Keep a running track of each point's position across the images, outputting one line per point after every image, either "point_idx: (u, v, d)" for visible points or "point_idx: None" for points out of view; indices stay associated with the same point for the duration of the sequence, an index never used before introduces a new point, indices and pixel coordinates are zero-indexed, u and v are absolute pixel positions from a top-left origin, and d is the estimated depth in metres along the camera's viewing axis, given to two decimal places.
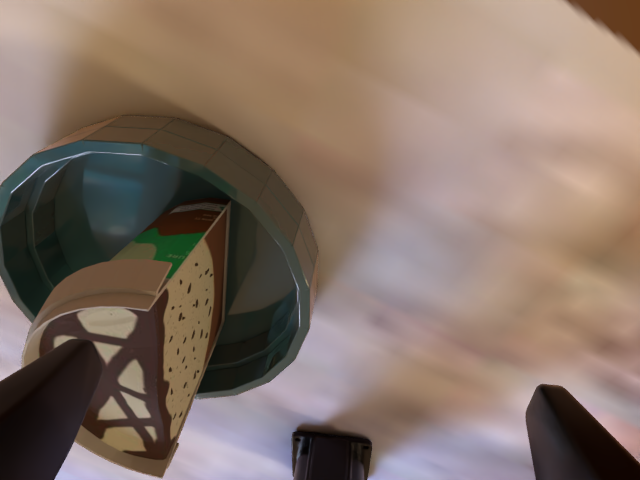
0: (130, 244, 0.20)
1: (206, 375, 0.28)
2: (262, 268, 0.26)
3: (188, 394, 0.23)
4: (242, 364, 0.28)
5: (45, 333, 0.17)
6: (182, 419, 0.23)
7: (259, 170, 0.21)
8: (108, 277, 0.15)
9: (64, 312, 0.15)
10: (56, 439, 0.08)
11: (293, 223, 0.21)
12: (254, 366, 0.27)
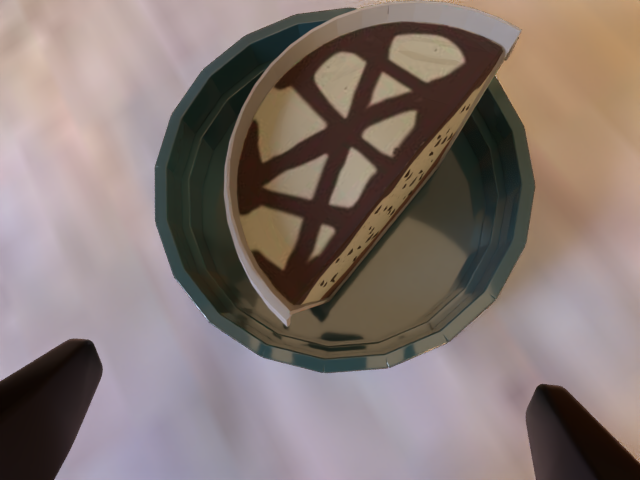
0: None
1: (278, 343, 0.19)
2: (422, 252, 0.22)
3: (327, 281, 0.16)
4: (334, 353, 0.20)
5: (337, 40, 0.14)
6: (307, 301, 0.15)
7: None
8: None
9: (421, 1, 0.14)
10: (56, 439, 0.08)
11: None
12: (360, 353, 0.19)
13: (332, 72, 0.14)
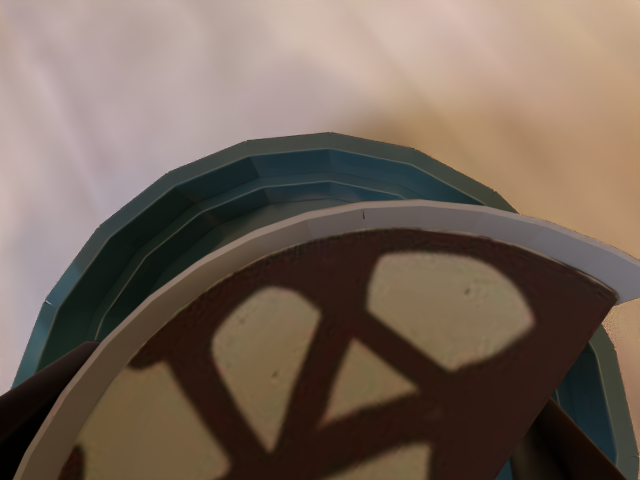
0: None
1: None
2: None
3: None
4: None
5: (263, 264, 0.07)
6: None
7: None
8: None
9: (433, 202, 0.06)
10: None
11: None
12: None
13: (250, 334, 0.07)
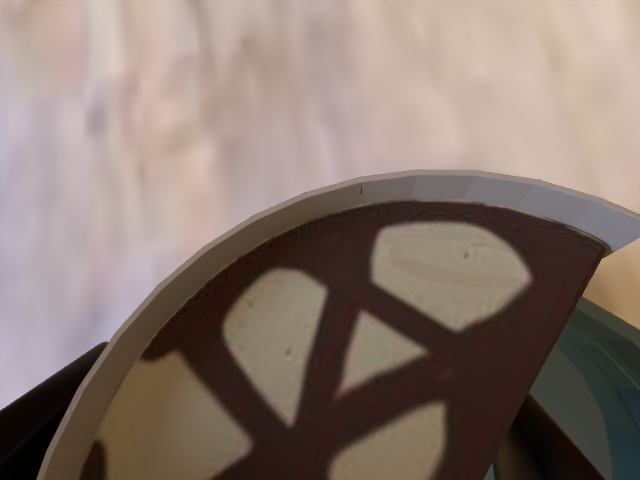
0: None
1: None
2: None
3: None
4: None
5: (266, 247, 0.07)
6: None
7: None
8: None
9: (427, 171, 0.07)
10: None
11: None
12: None
13: (260, 315, 0.07)
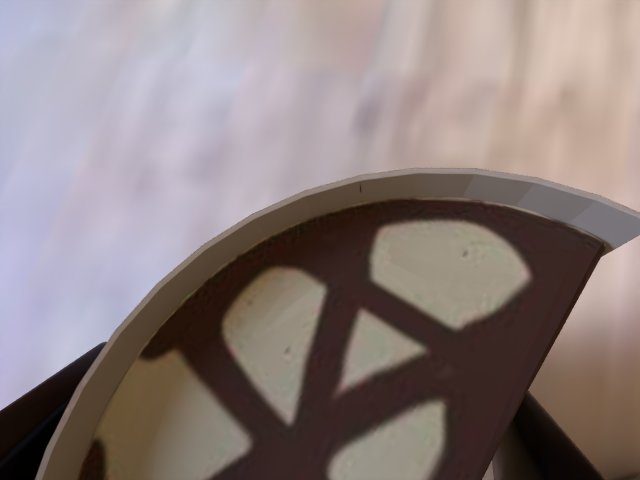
0: None
1: None
2: None
3: None
4: None
5: (265, 245, 0.07)
6: None
7: None
8: None
9: (426, 169, 0.07)
10: None
11: None
12: None
13: (259, 314, 0.07)
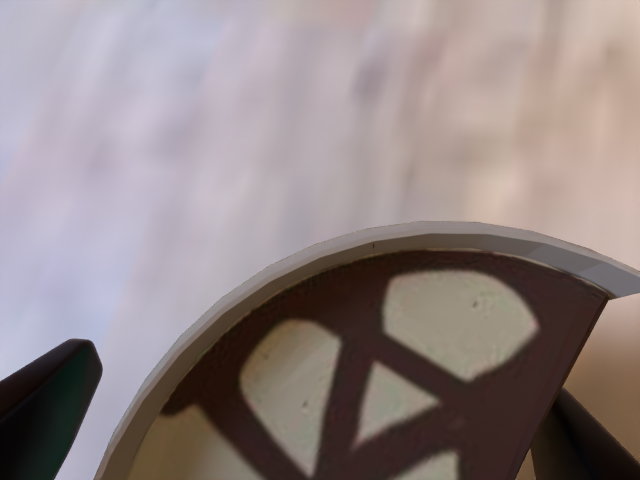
0: None
1: None
2: None
3: None
4: None
5: (279, 299, 0.07)
6: None
7: None
8: None
9: (439, 228, 0.07)
10: (56, 439, 0.08)
11: None
12: None
13: (276, 368, 0.07)
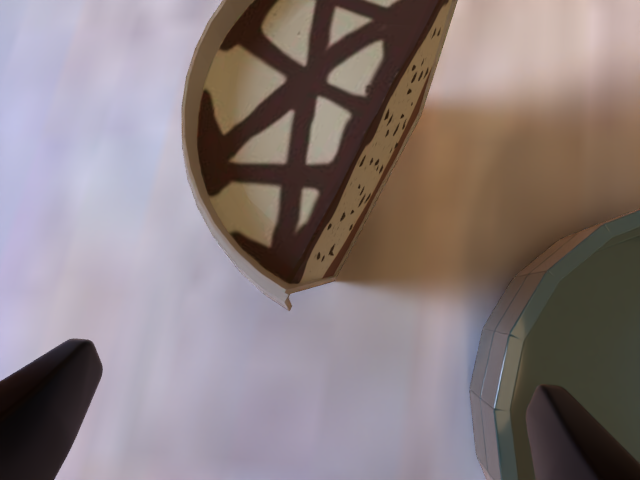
0: None
1: None
2: None
3: (324, 254, 0.14)
4: None
5: None
6: (307, 279, 0.13)
7: None
8: None
9: None
10: (56, 439, 0.08)
11: None
12: None
13: (281, 19, 0.13)
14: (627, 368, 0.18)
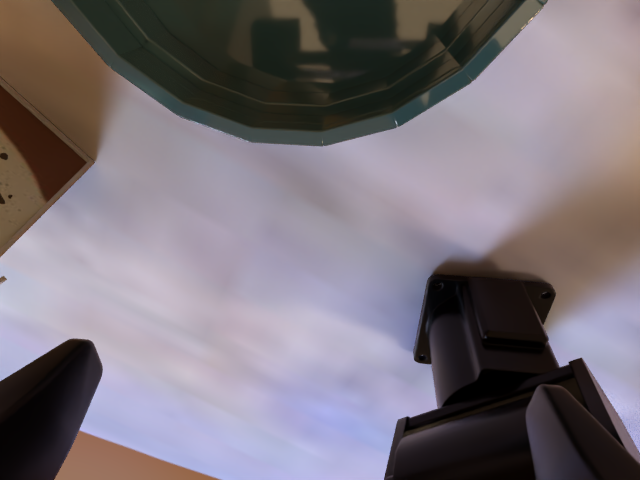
0: None
1: (331, 117, 0.16)
2: None
3: None
4: (398, 91, 0.16)
5: None
6: None
7: None
8: None
9: None
10: (56, 439, 0.08)
11: None
12: (429, 77, 0.15)
13: None
14: None
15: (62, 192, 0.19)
